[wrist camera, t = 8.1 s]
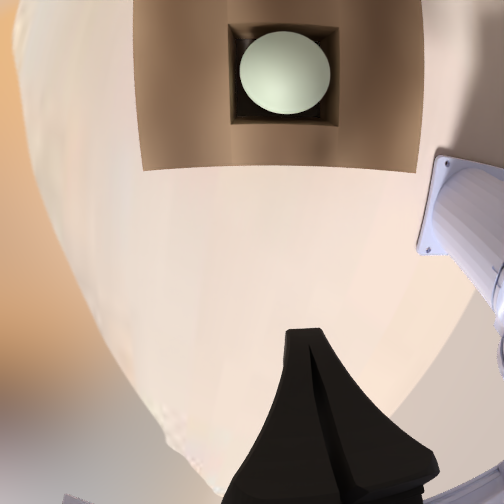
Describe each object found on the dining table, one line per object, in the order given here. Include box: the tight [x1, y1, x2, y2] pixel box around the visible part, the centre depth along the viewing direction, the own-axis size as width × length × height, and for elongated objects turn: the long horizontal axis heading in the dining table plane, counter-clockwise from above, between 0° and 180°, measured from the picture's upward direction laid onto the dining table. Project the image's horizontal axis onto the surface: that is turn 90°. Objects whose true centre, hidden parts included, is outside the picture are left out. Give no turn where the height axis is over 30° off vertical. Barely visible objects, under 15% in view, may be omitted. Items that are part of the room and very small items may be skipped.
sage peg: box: [240, 31, 330, 114], centre depth 13 cm, size 4×4×4 cm
